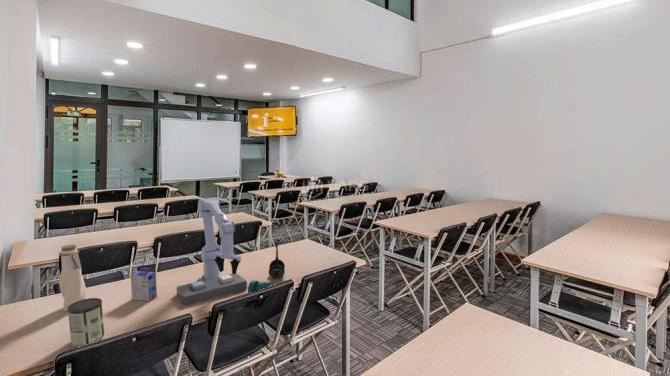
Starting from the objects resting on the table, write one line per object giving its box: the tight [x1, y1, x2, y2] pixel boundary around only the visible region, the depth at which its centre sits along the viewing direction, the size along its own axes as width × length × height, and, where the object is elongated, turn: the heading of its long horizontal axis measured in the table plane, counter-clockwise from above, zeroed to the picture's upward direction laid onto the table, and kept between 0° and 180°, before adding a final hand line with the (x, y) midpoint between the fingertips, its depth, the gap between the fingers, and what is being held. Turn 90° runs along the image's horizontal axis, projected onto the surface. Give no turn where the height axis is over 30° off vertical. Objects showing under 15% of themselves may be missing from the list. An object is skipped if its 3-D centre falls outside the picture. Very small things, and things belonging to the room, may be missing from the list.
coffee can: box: [67, 297, 106, 348], centre depth 125 cm, size 10×10×14 cm
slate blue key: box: [191, 280, 205, 291], centre depth 164 cm, size 5×5×3 cm
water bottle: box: [58, 244, 87, 312], centre depth 149 cm, size 10×9×28 cm
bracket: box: [247, 279, 277, 294], centre depth 168 cm, size 18×7×8 cm, turn 162°
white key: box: [220, 274, 233, 284], centre depth 172 cm, size 5×5×3 cm
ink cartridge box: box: [130, 266, 158, 302], centre depth 160 cm, size 10×6×14 cm, turn 79°
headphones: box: [268, 240, 286, 280], centre depth 188 cm, size 9×15×20 cm, turn 8°
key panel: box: [176, 272, 248, 306], centre depth 168 cm, size 14×30×4 cm, turn 129°
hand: (227, 272), depth 169 cm, fingers open, 7 cm apart
